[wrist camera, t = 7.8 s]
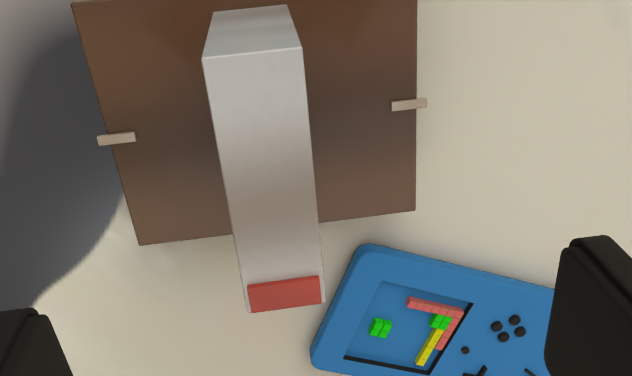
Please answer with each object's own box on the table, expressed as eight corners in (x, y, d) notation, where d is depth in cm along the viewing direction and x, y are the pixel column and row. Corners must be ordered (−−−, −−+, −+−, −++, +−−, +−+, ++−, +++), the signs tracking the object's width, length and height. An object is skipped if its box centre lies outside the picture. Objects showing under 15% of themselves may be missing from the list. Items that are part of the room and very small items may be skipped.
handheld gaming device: (534, 412, 34) (307, 372, 31) (526, 398, 35) (305, 357, 31) (608, 312, 31) (364, 252, 27) (597, 299, 32) (360, 240, 28)
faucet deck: (71, -48, 21) (44, -39, 18) (406, -81, 21) (430, -76, 19) (148, 235, 27) (137, 275, 24) (406, 202, 28) (424, 237, 25)
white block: (212, 11, 19) (199, 60, 14) (286, 4, 19) (303, 48, 14) (247, 218, 23) (247, 318, 18) (307, 210, 24) (327, 307, 18)
